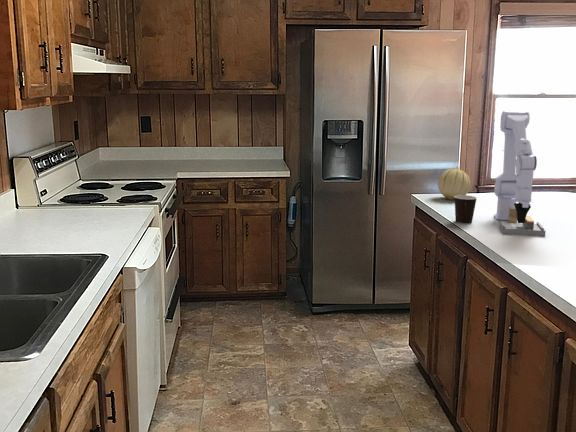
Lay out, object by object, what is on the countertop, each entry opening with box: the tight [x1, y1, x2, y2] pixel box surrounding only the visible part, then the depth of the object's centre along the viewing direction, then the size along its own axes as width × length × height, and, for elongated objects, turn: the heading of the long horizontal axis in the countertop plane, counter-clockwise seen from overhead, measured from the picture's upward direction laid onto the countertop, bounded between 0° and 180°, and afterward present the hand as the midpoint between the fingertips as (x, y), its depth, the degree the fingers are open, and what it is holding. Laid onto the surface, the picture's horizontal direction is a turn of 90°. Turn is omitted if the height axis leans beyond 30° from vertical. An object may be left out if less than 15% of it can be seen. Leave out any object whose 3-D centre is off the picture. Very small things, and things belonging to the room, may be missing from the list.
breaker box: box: [498, 220, 547, 237], centre depth 242 cm, size 11×15×3 cm
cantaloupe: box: [437, 166, 471, 200], centre depth 302 cm, size 15×15×15 cm
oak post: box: [507, 207, 518, 223], centre depth 251 cm, size 3×3×7 cm
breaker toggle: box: [523, 215, 535, 229], centre depth 241 cm, size 9×2×3 cm, turn 169°
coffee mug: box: [453, 194, 478, 224], centre depth 255 cm, size 12×9×10 cm
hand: (520, 222), depth 241 cm, fingers closed, pressing on breaker toggle
